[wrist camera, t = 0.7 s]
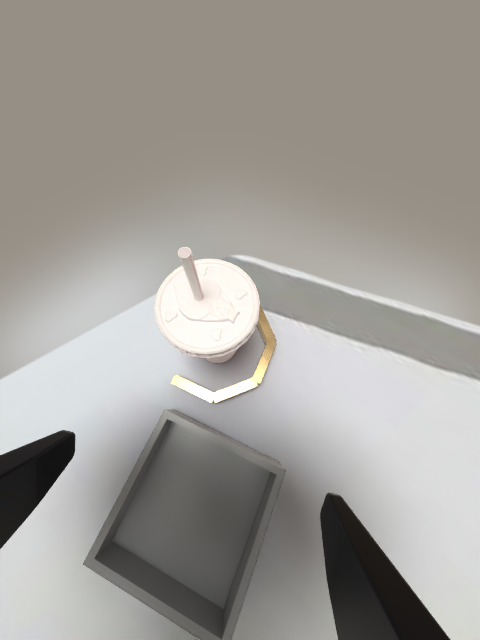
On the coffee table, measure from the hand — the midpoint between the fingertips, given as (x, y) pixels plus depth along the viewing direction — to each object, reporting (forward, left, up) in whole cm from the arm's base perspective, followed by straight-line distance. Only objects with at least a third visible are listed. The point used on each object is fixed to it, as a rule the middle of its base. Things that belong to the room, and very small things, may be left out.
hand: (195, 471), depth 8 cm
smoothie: (+7, +4, -13) cm, 15 cm away
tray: (-5, 0, -13) cm, 14 cm away
